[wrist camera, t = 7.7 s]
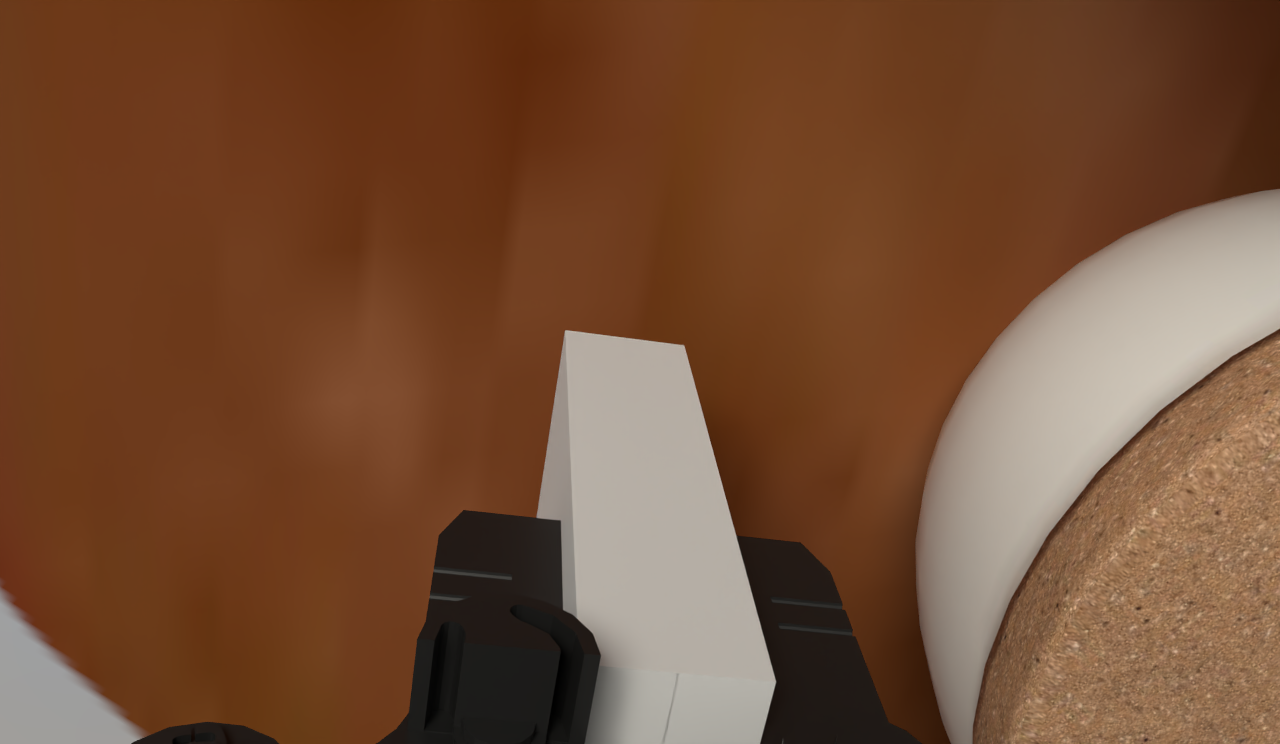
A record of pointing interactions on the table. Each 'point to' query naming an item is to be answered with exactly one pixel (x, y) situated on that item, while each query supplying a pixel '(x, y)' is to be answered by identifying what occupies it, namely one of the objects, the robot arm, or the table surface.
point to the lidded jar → (1117, 500)
